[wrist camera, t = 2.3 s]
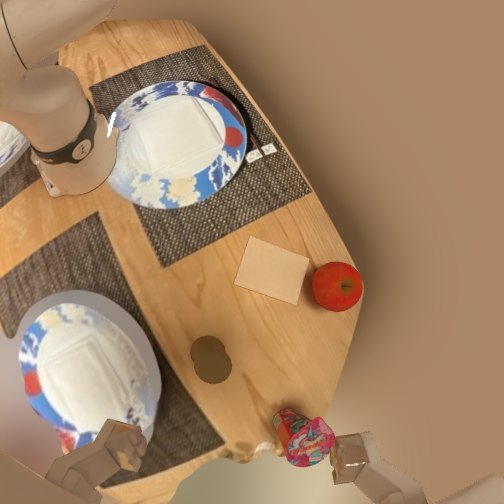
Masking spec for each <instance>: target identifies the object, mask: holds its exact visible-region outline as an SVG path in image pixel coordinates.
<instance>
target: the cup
mask: <svg viewBox="0 0 504 504" xmlns="http://www.w3.org/2000/svg"><path fill="white" fill-rule="evenodd" d="M273 424H274V427H275V429H276V431H277V434H278V436H279V438H280V441H281V443H282V445H283V447H284V450H285V452H286V458H287V460H288V461H289V462H290V463H291V464H292V465H294V466H298V467H308V466H312V465H315V464H317V463H319V462H320V461H322V460H323V459H324V458H325V457H327V455H328V454H329V453H330V450H331V446H333V445H334V439H335V435H334V433H333V431H332V430H331V428H330V427H329V426H328V425H327V424H326V423H325V422H324V421H323V419H322V418H320V417H316V418H315V419H313V420H310V419H309V418H307V417H305V416H303V415H301V414H300V413H298V412H296V411H295V410H293V409H284V410H281V411H280V412H278V413H277V414H276V415H275V417H274V420H273Z"/></svg>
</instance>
